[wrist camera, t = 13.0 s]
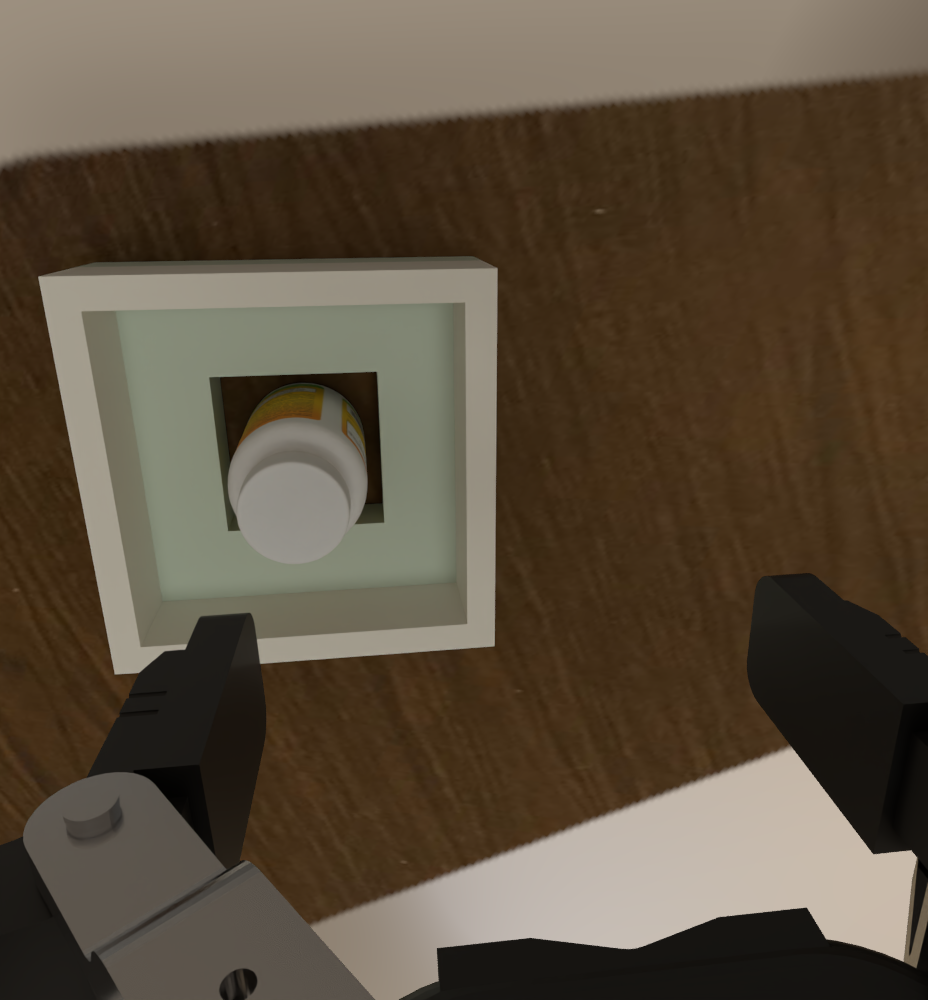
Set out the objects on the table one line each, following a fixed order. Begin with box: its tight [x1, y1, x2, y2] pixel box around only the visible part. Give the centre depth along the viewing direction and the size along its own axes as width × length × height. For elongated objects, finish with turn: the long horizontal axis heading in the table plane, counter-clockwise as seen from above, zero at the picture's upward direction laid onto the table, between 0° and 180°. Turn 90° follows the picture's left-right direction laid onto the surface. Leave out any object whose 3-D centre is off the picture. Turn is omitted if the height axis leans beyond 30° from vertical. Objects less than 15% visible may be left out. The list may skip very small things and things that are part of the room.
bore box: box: [38, 256, 498, 674], centre depth 34 cm, size 16×16×6 cm
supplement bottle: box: [228, 383, 368, 564], centre depth 33 cm, size 5×5×10 cm
